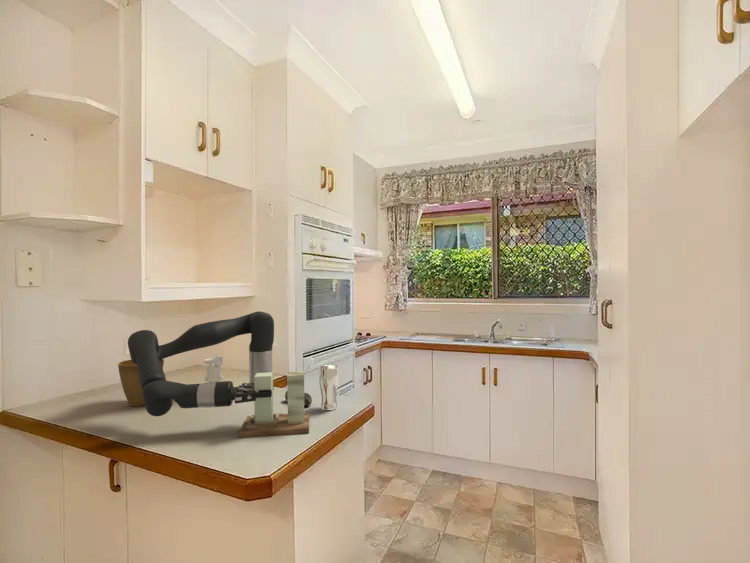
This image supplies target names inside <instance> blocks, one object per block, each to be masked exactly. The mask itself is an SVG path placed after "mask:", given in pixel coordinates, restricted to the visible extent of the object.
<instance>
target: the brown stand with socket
mask: <svg viewBox="0 0 750 563" xmlns="http://www.w3.org/2000/svg"><path fill="white" fill-rule="evenodd" d="M287 390H288V401H287V413H283V414H282V413H281V414H280V413H273V422H270V423H255V414H251V415H248V416H247V417H246V419H245V420H244V422H243V425H242V427H241V428H240V431H239V439H243V438H257V437H258V438H259V437H271V436H285V435H286V436H287V435H300V434H299V433H304V434H310V412H305V407H304V393H305V371H288V373H287Z"/></svg>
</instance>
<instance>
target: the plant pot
mask: <svg viewBox="0 0 750 563" xmlns="http://www.w3.org/2000/svg"><path fill="white" fill-rule="evenodd" d="M164 362H165V358H164V359H161V360H160V363H161V366H162V368H163V369H164V365H165V363H164ZM117 366H118V375H119V378H120V382H121V383H120V384H121V386H122V389H123V393H124V395H125V398H126V400H127V403H128V405H129V406H130V407H134V406H137V407H143V406H142V405H145V403H144V399H143V395H142V391H143V390H142V388H141V385H140V380H139V375H138V367H137V364H135V363H133V362H132V360H131V359H127V360H123V361H120V362H119V361H118V363H117Z"/></svg>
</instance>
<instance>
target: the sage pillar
mask: <svg viewBox="0 0 750 563" xmlns="http://www.w3.org/2000/svg"><path fill="white" fill-rule="evenodd" d="M273 387H274V372H273V371H272V372H268V373H256V375H255V376H254V390H272V396H271V397H266V398H259V399H256V401H253V402H254V415H255V423H270V422H273V414H274V390H273Z"/></svg>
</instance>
